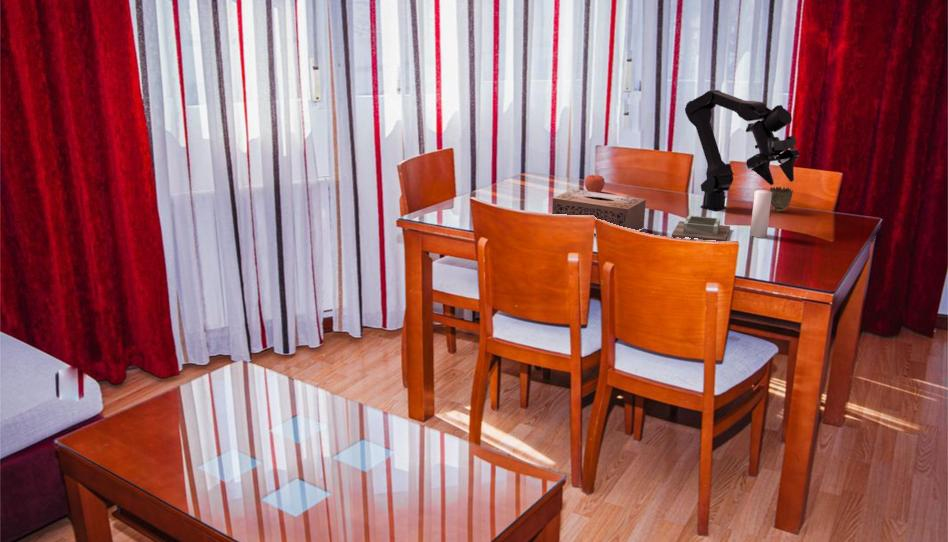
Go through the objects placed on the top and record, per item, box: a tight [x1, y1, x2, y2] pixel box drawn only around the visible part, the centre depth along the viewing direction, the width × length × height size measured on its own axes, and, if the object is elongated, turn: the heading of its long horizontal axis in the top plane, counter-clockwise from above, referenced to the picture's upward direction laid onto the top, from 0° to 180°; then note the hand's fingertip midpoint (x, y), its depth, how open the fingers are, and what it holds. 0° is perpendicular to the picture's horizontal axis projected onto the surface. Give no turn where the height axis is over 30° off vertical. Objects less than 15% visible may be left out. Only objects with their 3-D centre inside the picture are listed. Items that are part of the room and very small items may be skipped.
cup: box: [769, 186, 794, 213], centre depth 290 cm, size 8×7×8 cm
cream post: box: [749, 189, 772, 239], centre depth 261 cm, size 5×5×14 cm
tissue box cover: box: [551, 188, 647, 230], centre depth 270 cm, size 26×14×10 cm, turn 58°
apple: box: [584, 173, 606, 193], centre depth 314 cm, size 7×7×8 cm
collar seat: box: [671, 214, 731, 241], centre depth 264 cm, size 16×16×4 cm
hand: (782, 183), depth 268 cm, fingers open, 9 cm apart
